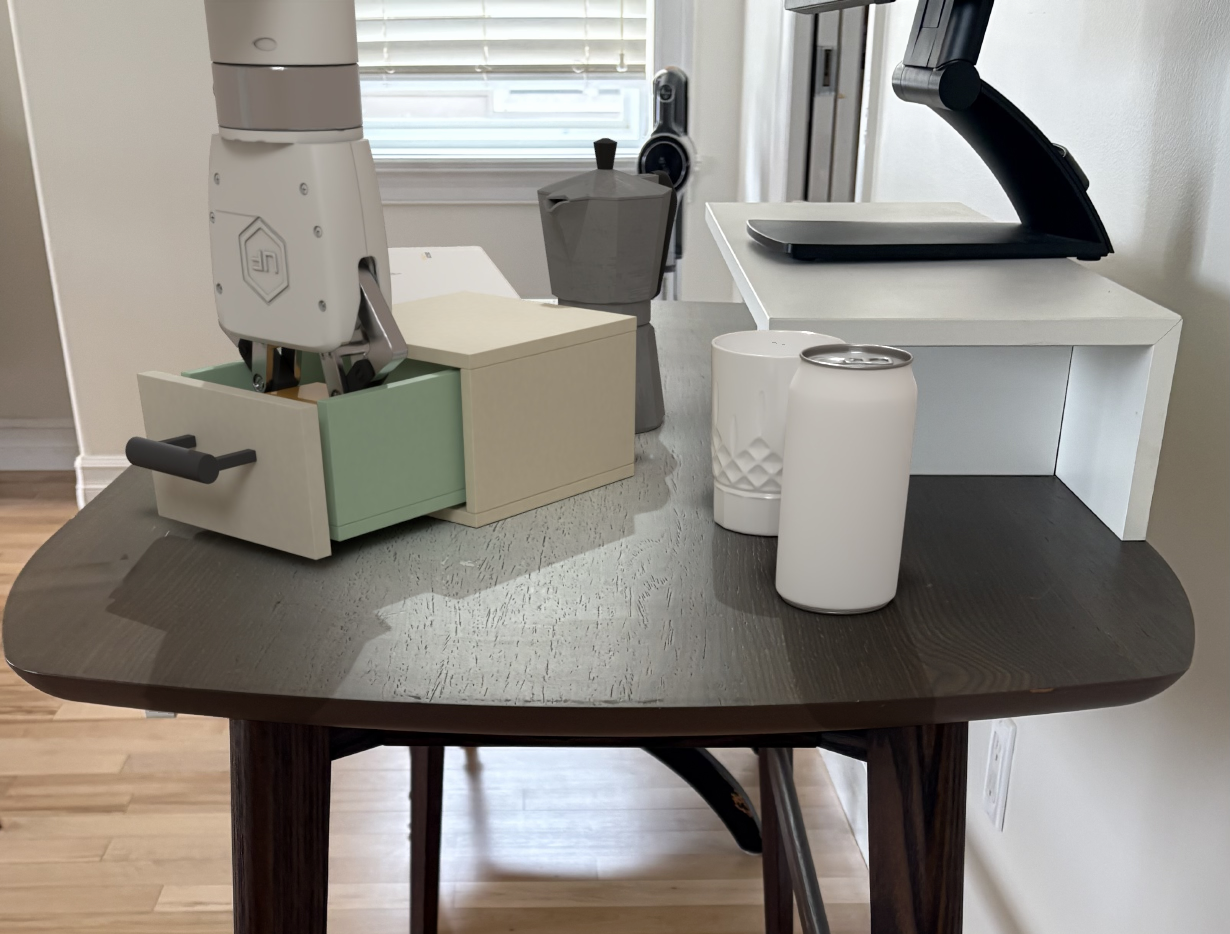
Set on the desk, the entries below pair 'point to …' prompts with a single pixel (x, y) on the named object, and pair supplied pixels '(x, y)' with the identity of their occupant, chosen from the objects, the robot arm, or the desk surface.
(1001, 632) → the desk surface
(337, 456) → the drawer
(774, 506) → the white cup
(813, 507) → the can
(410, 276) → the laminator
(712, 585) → the desk surface
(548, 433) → the cabinet
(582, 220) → the coffeepot
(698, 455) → the desk surface
